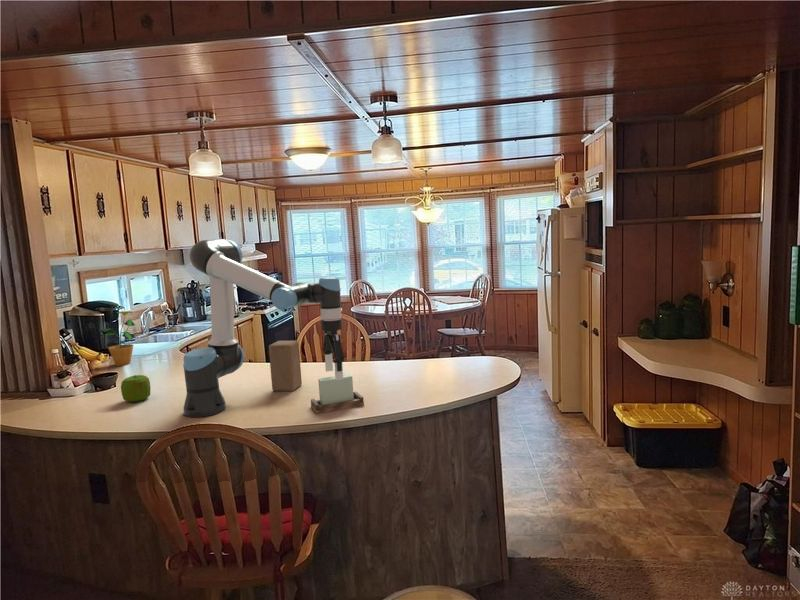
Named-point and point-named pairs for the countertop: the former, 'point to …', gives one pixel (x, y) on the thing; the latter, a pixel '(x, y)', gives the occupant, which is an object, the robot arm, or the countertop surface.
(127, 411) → the countertop surface
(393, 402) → the countertop surface
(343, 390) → the rectangular block
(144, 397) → the apple
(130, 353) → the potted plant
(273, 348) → the wooden block
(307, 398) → the countertop surface
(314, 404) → the track
